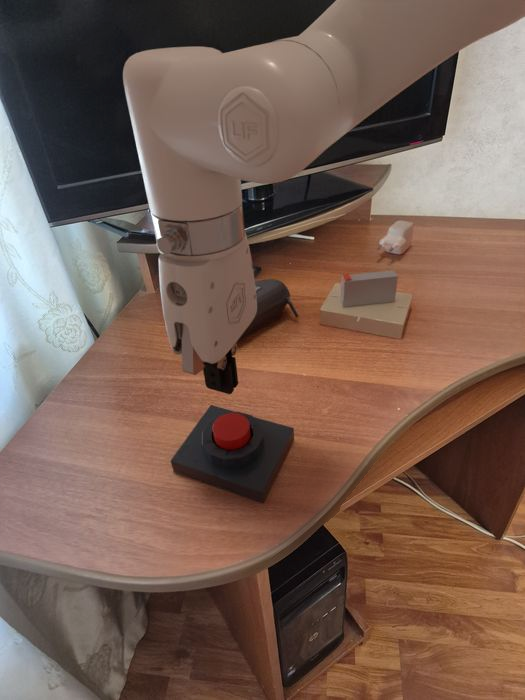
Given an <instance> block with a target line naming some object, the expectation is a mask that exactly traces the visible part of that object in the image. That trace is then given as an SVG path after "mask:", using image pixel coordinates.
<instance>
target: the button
mask: <svg viewBox="0 0 525 700" xmlns="http://www.w3.org/2000/svg"><path fill="white" fill-rule="evenodd" d="M213 435H214V440H215V443H216V444H217V445H218V446H219V447H220V448H222V449H224V450H237V449H240V448H242V447H244V446H245V445H246V444H247V443H248V442H249V440H250V437H251V432H250V424H249V421H248V419H247V418H246V417H245V416H243V415H241V414H238V413H228V414H225V415H222V416H220V417H219V418H218V419H217V420H216V421H215V422H214V424H213Z"/></svg>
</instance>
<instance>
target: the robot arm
mask: <svg viewBox="0 0 525 700" xmlns="http://www.w3.org/2000/svg"><path fill="white" fill-rule="evenodd" d="M523 18H525V0H335V1H334V2H333V3H332V4H331V5H330V6H329V7H327V8H326V10H324V12H322V14H321V15H320V16H318V18H317V19H315V20H314V22H312V23H311V24H310V25H309V26H308V27H307V28H306V29H304V30H303V31H302V32H301V33H300V34H299V35H296V36H291V37H286V38H281V39H275V40H273V41H271V42H266V43H262V44H256V45H252V46H248V47H244V48H240V49H236V50H232V51H228V52H222V51H221V50H219V49H216V48H214V47H208V46H176V47H174V46H173V47H164V48H163V47H162V48H154V49H147V50H142V51H140V52H139V51H138V52H135V53H134V54H132V55H130V56H129V57H128V58H127V60H126V61H125V63H124V66H123V70H122V81H123V88H124V94H125V100H126V103H127V104H126V105H127V108H128V113H129V117H130V122H131V127H132V132H133V137H134V141H135V146H136V151H137V155H138V160H139V166H140V171H141V174H142V175H141V176H142V179H143V185H144V190H145V194H146V200H147V204H148V208H149V213H150V218H151V223H152V228H153V231H154V237H155V241H156V247H157V250H158V252H159V255H158V278H159V290H160V291H159V292H160V300H161V307H162V308H161V309H162V314H163V320H164V325H165V330H166V334H167V335H166V336H167V339H168V342H169V345H170V348H171V350H172V352H173V353H174V354H175V355H177V356H178V355H181V364H182V365H181V370H182V372H183V373H185V374H188V375H189V374H190V375H193V376H197V375H198V374H200V373H201V372H202V371H203V377H204V383H205V387H206V388H207V389H209V390H213V391H216V392H220V393H223V394H227V395H232V394H233V393H234V391H235V389H236V388H237V387H238V385H239V377H238V369H237V358H236V357H235V355H236V354H237V351H238V341H239V340H238V339H239V338H240V336H241V335H242V334H243V333H244V331H245V330H246V329H247V327H248V326H249V325H250V323H251V322H252V321H253V319H254V317H255V315H256V312H257V298H256V288H255V281H256V280H255V279H256V278H255V272H254V266H253V259H252V253H251V248H250V245H249V240H248V236H247V233H246V230H245V219H244V216H245V215H244V205H243V204H244V203H243V191H242V190H243V189H242V181H244V182H248V183H255V184H263V185H264V184H265V185H271V184H277V183H282V182H285V181H287V180H290V179H292V178H294V177H296V175H298V174H300V173H301V172H302V171H304V170H305V169H306V168H307V167H308V166H310V165H311V164H312V163H313V162H314V161H315V160H316V159H317V158H319V157H320V156H321V155H322V154H323V153H324V152H325V151H326V150H327V149H328V148H330V147H331V146H332V145H334V144H335V143H336V142H337V141H338V140H340V139H341V138H342V137H344V136H345V135H346V134H347V133H348V132H350V131H351V130H352V129H354V128H355V127H357V126H358V125H359V124H360V123H361V122H363V121H364V120H365V119H367V118H369V116H371V115H372V114H373V113H375V112H376V111H378V110H379V109H380V108H381V107H383V106H384V105H386V103H388V102H389V101H391V100H392V99H393V98H395V97H396V96H398V95H399V94H400V93H402V92H403V91H404V90H406V89H407V88H409V87H410V86H411V85H412V84H414V83H415V82H417V81H418V80H420V79H421V78H422V77H423V76H425V75H426V74H428V73H429V72H431V71H432V70H433V69H435V68H436V67H438V66H440V64H442V63H443V62H445V61H447V60H448V59H449V58H451V57H452V56H454V55H455V54H457V53H459V52H460V51H462V50H463V49H465V48H467V47H469V46H470V45H471V44H474V43H476V42H478V41H479V40H482V39H484V38H486V37H489V36H490V35H492V34H495V33H497V32H499V31H502V30H504V29H505V28H508V27H510V26H511V25H514V24H515V23H517V22H519V21H520V20H522V19H523ZM237 340H238V341H237Z"/></svg>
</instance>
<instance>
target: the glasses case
mask: <svg viewBox="0 0 525 700" xmlns="http://www.w3.org/2000/svg"><path fill="white" fill-rule="evenodd" d="M255 288H256V298H257V312H256V315H255V317H254V319H253V321H252V322H251V323H250V325H249V326H248V327H247V329H246V330H245V331H244V333H243V334H242V335H241V336H240V338H239V339H238V340H237V342H238V341H240V340H241V339H244V338H245V337H247V336H249V335H251V334H253V333H255V332H256V331H258V330H259V329H262V328H264V327H265V326H267V325H268V324H270V323H272V322H273V321H275V320H277V319H278V318H279V317H281V316H282V315H283V313H284V311H285V309H286V306H287V305H288V306H289V307H290V309H291V311H292V314H293V315H294V317H295V318H299V313H298V311H297V309H296V308H295V305H294V303H293V301H292V300H291V293H290V291H289V289H288V287H287V285H285V283H284V282H282V281H281V280H278V279H276V278H267V279H266V278H265V279H260V280H255Z"/></svg>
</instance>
